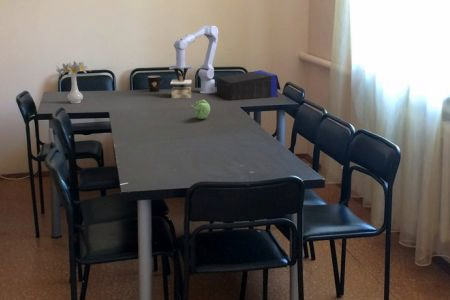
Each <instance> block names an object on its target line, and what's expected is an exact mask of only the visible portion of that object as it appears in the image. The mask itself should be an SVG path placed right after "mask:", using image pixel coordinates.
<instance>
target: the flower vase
mask: <svg viewBox="0 0 450 300" xmlns="http://www.w3.org/2000/svg"><path fill="white" fill-rule="evenodd" d="M72 63H73V64H72ZM55 67H56V72H57V73H58V77H59V78H60V77H61V76H63V75H65V74H66V73H68V74H67V75H68V76H70V77H71V80H70V81H71V90H70V92H69V93H68V94H67V97H66V98H67V100H68V101H70V103H71V104H79V103H82V102H81V101H82V100H83V98H84V95H83V93H82V92H81V91H79V88H78V81H77V77H78V73H79V72H83V73H85V74H87V71H86V70H87V69H88V66H87V65H84V62H83V61H81V62H78V63H77V62H76V61H72V62H71V61H69V63H62V68H60V67H58V65H55Z"/></svg>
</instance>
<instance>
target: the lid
mask: <svg viewBox="0 0 450 300" xmlns="http://www.w3.org/2000/svg"><path fill="white" fill-rule="evenodd" d="M170 85H192V79H185V81H184V75H179V81H178V79H171V81H170Z"/></svg>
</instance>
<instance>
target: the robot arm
mask: <svg viewBox="0 0 450 300" xmlns="http://www.w3.org/2000/svg"><path fill="white" fill-rule="evenodd" d="M203 35H204V37H206V38H207V39H208V46H207V48H206V50H207V51H206V53H205V58H204V62H203V64H202V65H201V66H200V69H199V70H198V76H199V78H200V94H215V93H216V87H215V83H216V82H215V79H213V78H214V77H215V68H214V66H213V62H214V59H215V55H216V50H217V46H218V41H219V29H218V27H217V26H216V25H207V24H205V25H203V26H201V27H200V28H199V29H198V30H197V29H196V31H194V32H193V33H192V34H191V33H187V34H185V36H183V37H180V39H176V41H175V42H174V44H173V47H174V49H175V59H176V60H175V64H176V65H169V70H173V71H174V73H175V75H176V80H178V81H179V76H180V74H179V70H183V76H184V81H185V80H186V75H187V73H188V70H193V65H186V49H187V47H188V46H189V45H191V44H192V43H194V42H195V39H196V40H197V39H198V38H199V37H201V36H203Z"/></svg>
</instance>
